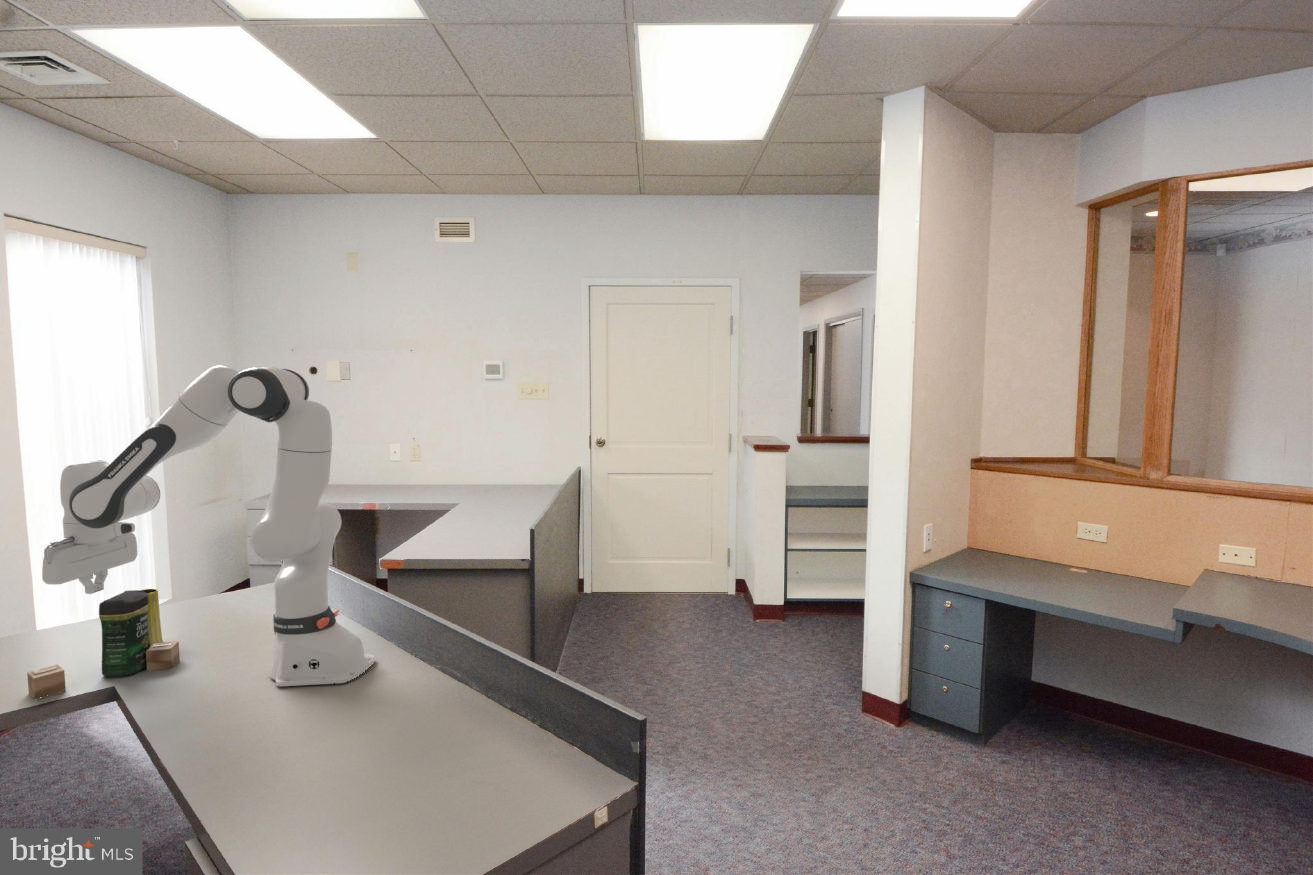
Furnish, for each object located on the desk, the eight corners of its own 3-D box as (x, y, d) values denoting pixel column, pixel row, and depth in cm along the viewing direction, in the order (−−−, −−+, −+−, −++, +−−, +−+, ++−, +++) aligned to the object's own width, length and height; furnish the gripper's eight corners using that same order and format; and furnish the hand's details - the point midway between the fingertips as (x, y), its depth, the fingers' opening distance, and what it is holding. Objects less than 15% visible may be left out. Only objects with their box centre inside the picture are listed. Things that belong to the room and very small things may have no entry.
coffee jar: (133, 678, 151) (128, 599, 149) (95, 680, 150) (89, 601, 148) (159, 660, 161) (154, 586, 159) (123, 662, 159) (118, 587, 158)
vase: (169, 641, 173) (166, 588, 171) (148, 650, 166) (145, 595, 165) (147, 640, 173) (144, 587, 172) (127, 649, 167) (123, 594, 166)
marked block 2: (179, 660, 161) (178, 639, 160) (172, 668, 156) (170, 647, 156) (155, 663, 159) (154, 642, 159) (147, 671, 155) (145, 650, 154)
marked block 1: (65, 691, 144) (64, 669, 144) (35, 700, 140) (33, 677, 140) (59, 685, 147) (57, 663, 147) (28, 694, 143) (27, 671, 143)
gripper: (58, 543, 137) (63, 607, 138) (141, 522, 158) (145, 578, 159) (30, 543, 138) (35, 607, 139) (116, 522, 158) (120, 578, 159)
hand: (94, 591), depth 149 cm, fingers closed
